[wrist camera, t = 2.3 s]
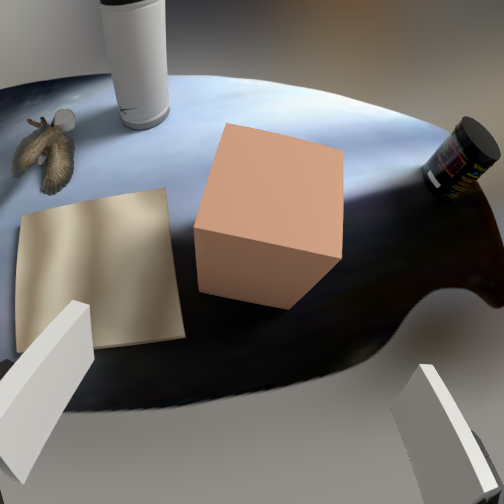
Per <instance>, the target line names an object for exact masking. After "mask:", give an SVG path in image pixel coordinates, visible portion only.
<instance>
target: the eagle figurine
mask: <svg viewBox="0 0 504 504" xmlns="http://www.w3.org/2000/svg"><path fill="white" fill-rule="evenodd" d="M40 119H41V123H38V122H34V121H32V120H31V119H27V122H28V123H29V124H30V125H33V126H35V127H38V128H39V129H37V130H36V131H34V132H33V133H32V134H31V135H29V136H28V137H25V138H23V140H22V141H21V144H20V145H19V147H18V148H17V151H16V153H15V155H14V157H13V162H12V172H13V175H12V177H13V178H14V177H15V178H17V177H18V178H20V177H21V176H22V174H23V173H24V172H25V171H26V170H27V169H28V168H29V167H31V165H33V164H34V163H35V161H36V160H37V159H38V157H39V160H38V163H39V166H41V165H42V164H44V162H45V160H46V158H47V166H46V173H45V177H44V180H43V184H42V191H44V192H45V194H47V193H48V195H49V196H51V195H52V194H53V195H55V194H56V193H57V192H60V191H61V190H62V187H63V186H64V187H65V186H66V184H67V182H69V181H70V179H71V177H72V174H73V170H74V167H73V164H74V160H73V158H74V153H73V152H74V149H75V148H74V144H73V142H72V140H71V139H69V138H68V137H66V135H64V133H66V132H68V131H70V130H72V129H74V128H75V115H74V114H73V112H72V111H71V110H69V109H61V110H59V111H57V112H56V114H55V117H54V119H53V121H52V123H51V125H49V124H48V123H47V122H46V120H45V119H44V117H41V118H40Z"/></svg>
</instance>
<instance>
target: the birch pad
mask: <svg viewBox="0 0 504 504" xmlns="http://www.w3.org/2000/svg"><path fill="white" fill-rule="evenodd" d="M72 300H75V301H78V302H82V303H85V304H88V305H90V319H91V331H92V342H93V349H102V348H112V347H121V346H129V345H137V344H145V343H152V342H160V341H167V340H173V339H180V338H186V335H185V330H184V324H183V318H182V312H181V306H180V299H179V293H178V286H177V279H176V272H175V265H174V257H173V249H172V241H171V233H170V224H169V215H168V205H167V195H166V190H165V188H161V189H154V190H147V191H141V192H135V193H129V194H123V195H117V196H112V197H106V198H101V199H95V200H90V201H85V202H80V203H75V204H70V205H65V206H61V207H56V208H51V209H47V210H42V211H38V212H34V213H30V214H25V215H22V220H21V227H20V236H19V245H18V256H17V269H16V293H15V322H16V345H17V353H21V354H23V353H24V352H25V351H26V350H27V349H28V347H29V346H30V345H31V344H32V343H33V342H34V341H35V340H36V338H37V337H38V336H39V335H40V334H41V333H42V332H43V331H44V330H45V329H46V327H47V326H48V325H49V324H50V323H51V322H52V321H53V320H54V319H55V318H56V317H57V316H58V315H59V314H60V312H61V311H62V310H63V309H64V308H65V307H66V306H67V305H68V304H69V303H70V302H71V301H72Z"/></svg>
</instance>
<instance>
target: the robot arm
mask: <svg viewBox="0 0 504 504" xmlns="http://www.w3.org/2000/svg"><path fill="white" fill-rule="evenodd" d="M94 360H95V359H94V351H93V342H92V331H91V319H90V305H88V304H85V303H82V302H78V301H75V300H72V301H71V302H70V303H69V304H68V305H67V306H66V307H65V308H64V309H63V310H62V311H61V312H60V314H59V315H58V316H57V317H56V318H55V319H54V320H53V321H52V322H51V323H50V324H49V325H48V326H47V327H46V329H45V330H44V331H43V332H42V333H41V334H40V335H39V336H38V337H37V338H36V340H35V341H34V342H33V343H32V344H31V345H30V346H29V347H28V349H27V350H26V351H25V352H24V353H23V354H22V355H21V357H20V358H19V359H18V360H17V361H16V363H14V362H12V361H10V360H8V359H6V360H4V361H2V362H0V469H1V470H2V471H3V473H4V474H6V475H7V476H9V477H10V478H12V479H14V480H15V481H17V482H19V483H20V484H22V485H24V483H25V481H26V479H27V477H28V475H29V473H30V471H31V469H32V467H33V465H34V463H35V461H36V459H37V457H38V455H39V454H40V452H41V450H42V448H43V446H44V444H45V442H46V440H47V438H48V437H49V435H50V433H51V431H52V429H53V428H54V426H55V424H56V423H57V421H58V419H59V417H60V416H61V414H62V412H63V410H64V409H65V407H66V405H67V404H68V402H69V400H70V399H71V397H72V395H73V394H74V392H75V390H76V389H77V387H78V385H79V384H80V382H81V380H82V379H83V377H84V376H85V374H86V372H87V371H88V369H89V368H90V366H91V364H92V363H93V361H94ZM391 411H392V414H393V416H394V419H395V421H396V424H397V427H398V429H399V432H400V435H401V437H402V440H403V443H404V445H405V448H406V451H407V454H408V457H409V459H410V462H411V465H412V468H413V471H414V474H415V477H416V479H417V482H418V486H419V489H420V492H421V495H422V498H423V501H424V504H504V485H503V483H502V481H501V479H500V477H499V475H498V474H497V471H496V469H495V467H494V465H493V463H492V461H491V459H490V458H489V455H488V453H487V451H486V450H485V447H484V445H483V444H482V442H481V439H480V438H479V437H478V436H477V435H476V434H475V433H474V432H473V431H472V430H470V429H469V427H468V425H467V423H466V421H465V419H464V418H463V416H462V414H461V412H460V410H459V409H458V407H457V405H456V403H455V402H454V400H453V398H452V397H451V395H450V393H449V391H448V390H447V388H446V386H445V385H444V383H443V381H442V380H441V378H440V376H439V375H438V373H437V371H436V370H435V368H434V367H433V365H425V364H419V365H418V367H417V369H416V370H415V372H414V374H413V375H412V377H411V379H410V380H409V382H408V383H407V385H406V386H405V388H404V390H403V391H402V393H401V394H400V395H399V397H398V399H397V400H396V401H395V403H394V404H393V406H392V407H391ZM0 504H4V502H3V498H2V495H1V491H0Z"/></svg>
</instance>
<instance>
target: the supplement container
mask: <svg viewBox="0 0 504 504" xmlns="http://www.w3.org/2000/svg"><path fill="white" fill-rule="evenodd" d="M500 156H501V154H500V150H499V147H498V145H497V143H496V141H495V140H494V138H493V137H492V136H491V134H490V133H489V132H488V131H487V130H486V128H484V127H483V126H482V125H481V124H480V123H479V122H477V121H476V120H474V119H472V118H470V117H463V118H462V119H461V120H460V122H459V123H458V124H457V125H456V126H455V128H454V130H453V131H452V132H451V133H450V134H449V136H448V137H447V138H446V139H445V141H444V142H443V143H442V144H441V145H440V147H439V148H438V149H437V150H436V151H435V153H434V154H433V155H432V156H431V157H430V159H429V160H428V161H427V162H426V163H425V165H424V168H423V176H424V180H425V182H426V184H427V186H428V187H429V189H430V190H431V191H432V192H433V193H434V194H435V195H436V196H437V197H439V198H440V199H442V200H445V201H454V200H456V199H457V198H458V197H459V196H461V195H462V194H463V193H464V192H465V191H466V190H467V189H468V188H469V187H470V186H471V185H472V184H473V183H475V182H476V181H477V180H478V179H479V178H480V177H481V176H482V175H483V174H484V173H485V172H486V171H487V170H488V169H489V168H490V167H492V166H493V165H494V164H495V162H497V161H498V160H499V158H500Z"/></svg>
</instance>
